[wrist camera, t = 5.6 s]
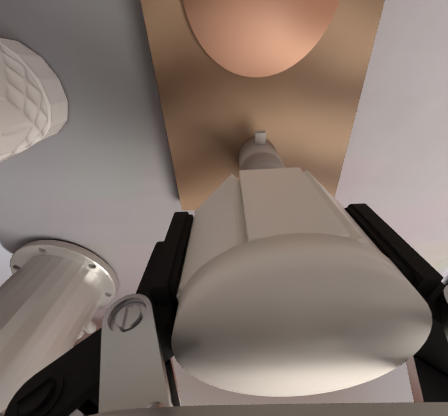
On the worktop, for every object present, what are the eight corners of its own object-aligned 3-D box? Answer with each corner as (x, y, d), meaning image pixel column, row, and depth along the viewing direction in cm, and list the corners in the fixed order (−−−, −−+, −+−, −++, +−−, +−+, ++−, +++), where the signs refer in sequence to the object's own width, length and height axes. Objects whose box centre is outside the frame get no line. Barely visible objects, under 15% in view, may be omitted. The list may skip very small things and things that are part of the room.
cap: (357, 161, 8) (497, 260, 4) (324, 277, 12) (378, 395, 8) (183, 170, 8) (141, 272, 4) (202, 282, 12) (190, 397, 8)
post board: (326, 197, 21) (374, 263, 14) (184, 202, 22) (162, 267, 15) (411, -169, 10) (826, -714, 3) (123, -133, 11) (-77, -501, 4)
